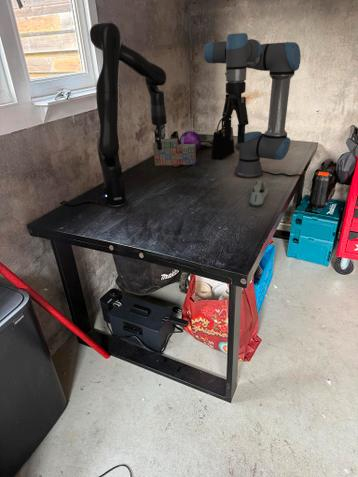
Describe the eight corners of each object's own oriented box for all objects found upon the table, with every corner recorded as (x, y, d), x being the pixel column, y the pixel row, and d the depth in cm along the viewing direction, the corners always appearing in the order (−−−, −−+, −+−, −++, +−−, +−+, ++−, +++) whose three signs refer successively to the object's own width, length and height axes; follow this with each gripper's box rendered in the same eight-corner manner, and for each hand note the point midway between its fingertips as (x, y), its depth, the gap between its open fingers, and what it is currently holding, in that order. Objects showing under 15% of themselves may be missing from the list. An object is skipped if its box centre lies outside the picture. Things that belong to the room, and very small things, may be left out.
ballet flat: (269, 188, 169) (270, 173, 165) (265, 208, 149) (266, 191, 145) (252, 187, 171) (253, 172, 167) (246, 206, 151) (247, 190, 147)
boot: (189, 157, 225) (188, 126, 215) (182, 168, 205) (180, 135, 195) (176, 157, 227) (175, 126, 217) (168, 168, 206) (166, 135, 196)
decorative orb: (204, 151, 235) (204, 129, 228) (194, 156, 225) (193, 134, 217) (186, 149, 243) (186, 128, 235) (175, 154, 232) (174, 132, 224)
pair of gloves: (199, 150, 238) (199, 143, 235) (184, 143, 258) (184, 136, 255) (235, 144, 247) (235, 137, 245) (218, 137, 268) (218, 131, 265)
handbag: (222, 160, 214) (223, 120, 202) (210, 158, 219) (210, 119, 206) (235, 152, 229) (236, 114, 217) (223, 150, 234) (224, 113, 221)
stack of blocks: (196, 161, 174) (195, 137, 168) (194, 165, 169) (193, 141, 163) (157, 161, 178) (155, 138, 172) (154, 165, 173) (152, 142, 167)
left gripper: (154, 111, 169) (157, 144, 178) (147, 116, 157) (150, 151, 165) (168, 111, 168) (170, 144, 176) (162, 116, 156) (165, 151, 164)
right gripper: (214, 80, 133) (214, 133, 144) (240, 85, 112) (237, 147, 123) (232, 78, 135) (230, 131, 145) (260, 83, 114) (256, 145, 124)
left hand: (161, 147), depth 171 cm, fingers closed on stack of blocks, 6 cm apart
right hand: (233, 139), depth 134 cm, fingers open, 13 cm apart
